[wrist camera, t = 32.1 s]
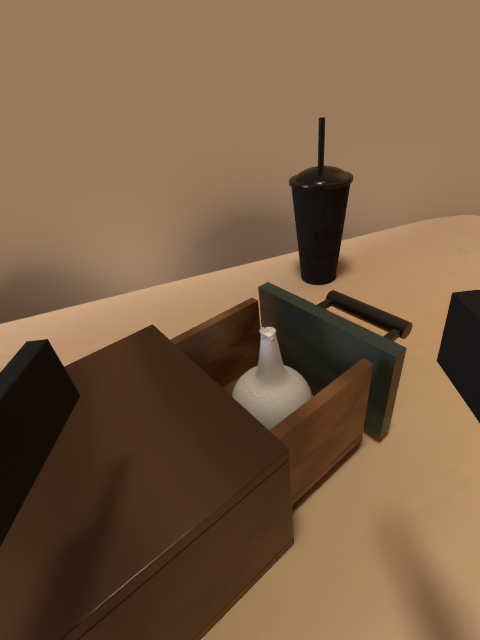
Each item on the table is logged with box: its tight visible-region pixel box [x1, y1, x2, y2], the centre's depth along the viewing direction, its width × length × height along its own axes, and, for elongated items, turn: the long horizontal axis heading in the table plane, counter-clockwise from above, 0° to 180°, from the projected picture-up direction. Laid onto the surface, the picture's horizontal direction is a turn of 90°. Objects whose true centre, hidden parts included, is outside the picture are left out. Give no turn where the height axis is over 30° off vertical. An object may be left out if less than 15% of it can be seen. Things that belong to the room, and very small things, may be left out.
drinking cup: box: [289, 118, 353, 285], centre depth 44 cm, size 8×8×20 cm
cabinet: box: [0, 325, 294, 640], centre depth 20 cm, size 17×15×10 cm
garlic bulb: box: [232, 327, 312, 430], centre depth 26 cm, size 6×6×8 cm
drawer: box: [170, 282, 412, 505], centre depth 27 cm, size 22×13×8 cm, turn 128°
